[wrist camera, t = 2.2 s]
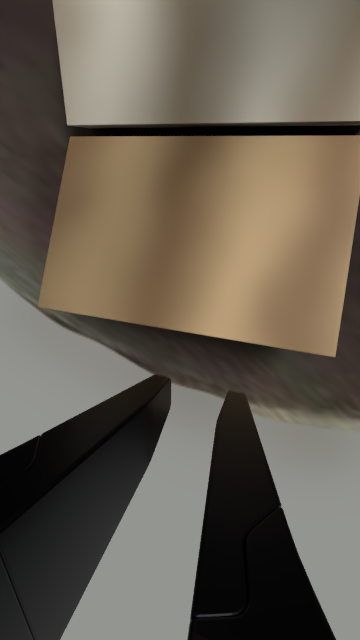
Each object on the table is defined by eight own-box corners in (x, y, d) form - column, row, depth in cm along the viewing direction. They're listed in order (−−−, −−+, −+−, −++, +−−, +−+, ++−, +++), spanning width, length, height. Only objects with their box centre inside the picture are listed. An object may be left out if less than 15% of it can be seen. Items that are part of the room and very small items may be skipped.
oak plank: (356, 162, 15) (368, 135, 13) (326, 356, 15) (335, 357, 13) (90, 158, 19) (70, 136, 17) (61, 311, 19) (37, 306, 17)
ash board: (407, -67, 12) (425, -104, 10) (364, 125, 15) (372, 120, 13) (75, -16, 16) (47, -38, 14) (88, 128, 19) (67, 125, 17)
